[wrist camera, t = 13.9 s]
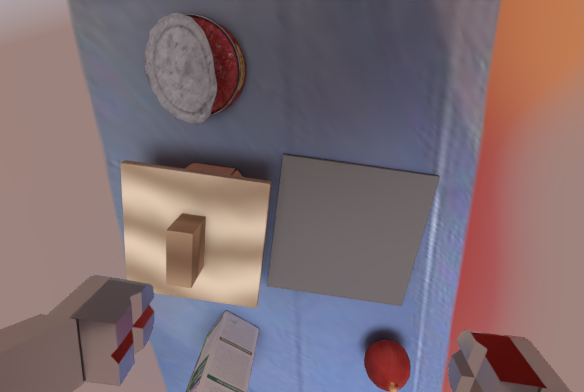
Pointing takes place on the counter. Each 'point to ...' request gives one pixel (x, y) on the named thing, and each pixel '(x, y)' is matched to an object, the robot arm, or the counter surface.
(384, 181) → the mat
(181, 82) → the canned food
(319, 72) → the counter surface
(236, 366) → the syrup box
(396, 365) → the onion
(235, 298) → the lid
